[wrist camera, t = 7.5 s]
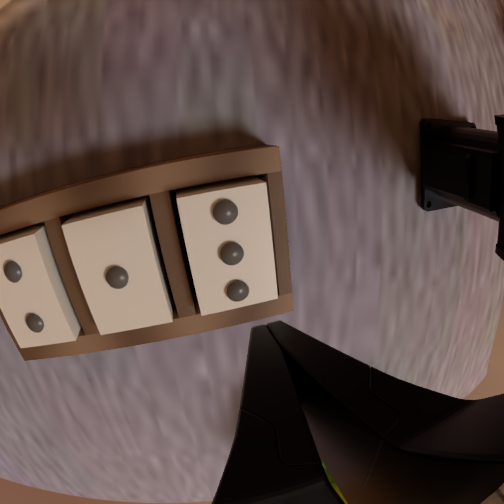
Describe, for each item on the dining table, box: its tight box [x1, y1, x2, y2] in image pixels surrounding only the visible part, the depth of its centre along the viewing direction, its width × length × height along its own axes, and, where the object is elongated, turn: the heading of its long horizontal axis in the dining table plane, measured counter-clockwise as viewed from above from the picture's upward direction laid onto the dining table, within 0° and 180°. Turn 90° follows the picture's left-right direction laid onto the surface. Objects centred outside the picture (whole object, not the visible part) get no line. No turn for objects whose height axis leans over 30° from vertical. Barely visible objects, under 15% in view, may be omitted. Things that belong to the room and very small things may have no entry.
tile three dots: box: [176, 176, 278, 316], centre depth 15 cm, size 4×6×2 cm, turn 6°
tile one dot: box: [61, 196, 173, 335], centre depth 14 cm, size 4×6×2 cm, turn 6°
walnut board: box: [0, 145, 293, 361], centre depth 15 cm, size 17×9×2 cm, turn 96°
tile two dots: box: [0, 223, 81, 348], centre depth 13 cm, size 4×6×2 cm, turn 6°
